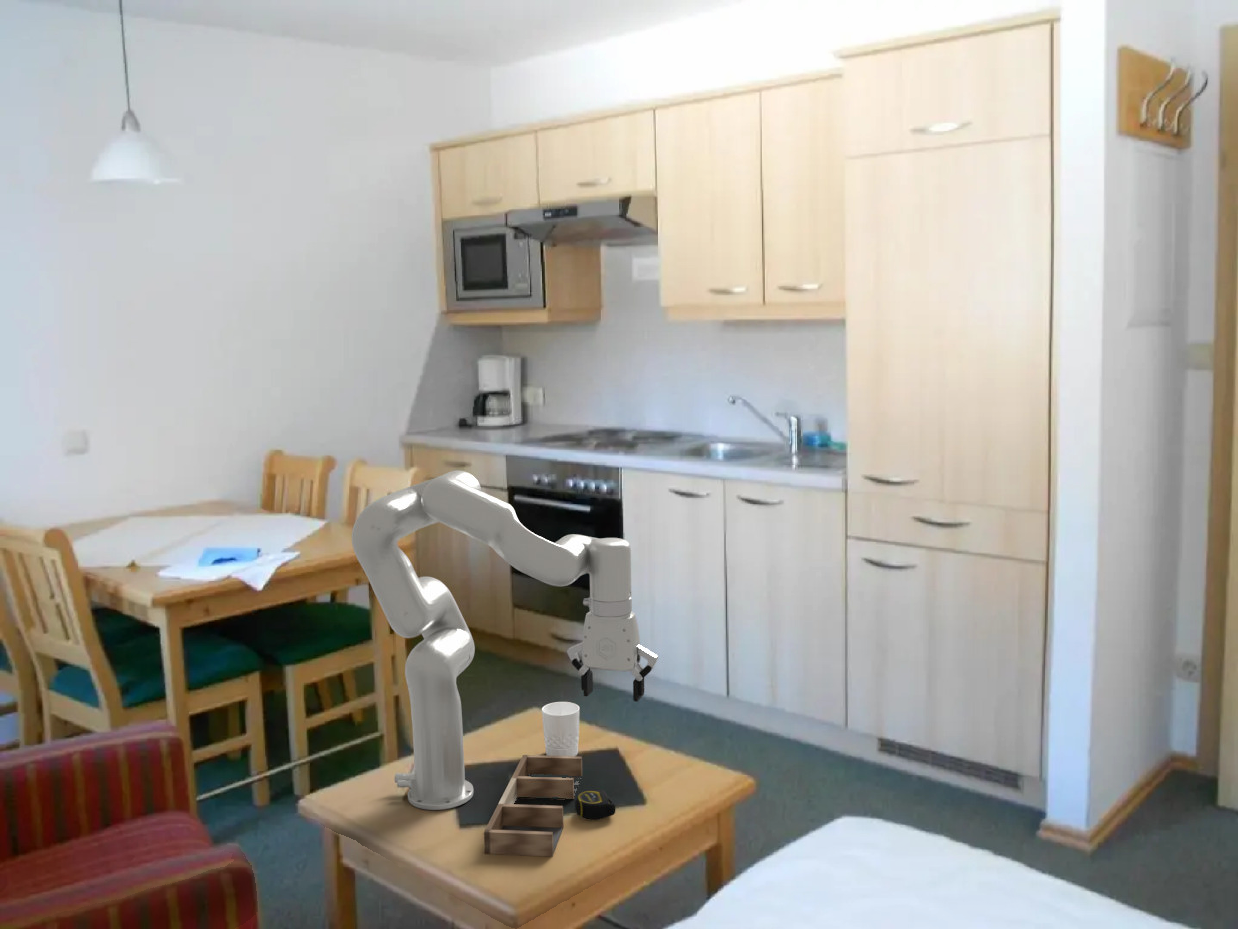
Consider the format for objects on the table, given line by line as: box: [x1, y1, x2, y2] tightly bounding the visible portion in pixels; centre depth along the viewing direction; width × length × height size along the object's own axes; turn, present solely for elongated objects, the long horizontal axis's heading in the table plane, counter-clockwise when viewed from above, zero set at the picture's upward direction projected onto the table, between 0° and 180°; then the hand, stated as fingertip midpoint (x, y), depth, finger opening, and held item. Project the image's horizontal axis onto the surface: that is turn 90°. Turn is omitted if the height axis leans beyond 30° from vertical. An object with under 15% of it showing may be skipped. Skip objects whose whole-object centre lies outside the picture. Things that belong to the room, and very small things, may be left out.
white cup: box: [541, 701, 580, 756], centre depth 240 cm, size 8×8×10 cm
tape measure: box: [574, 788, 616, 821], centre depth 212 cm, size 7×7×4 cm
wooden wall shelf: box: [483, 754, 583, 857], centre depth 214 cm, size 12×33×4 cm, turn 173°
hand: (612, 696), depth 210 cm, fingers open, 9 cm apart
